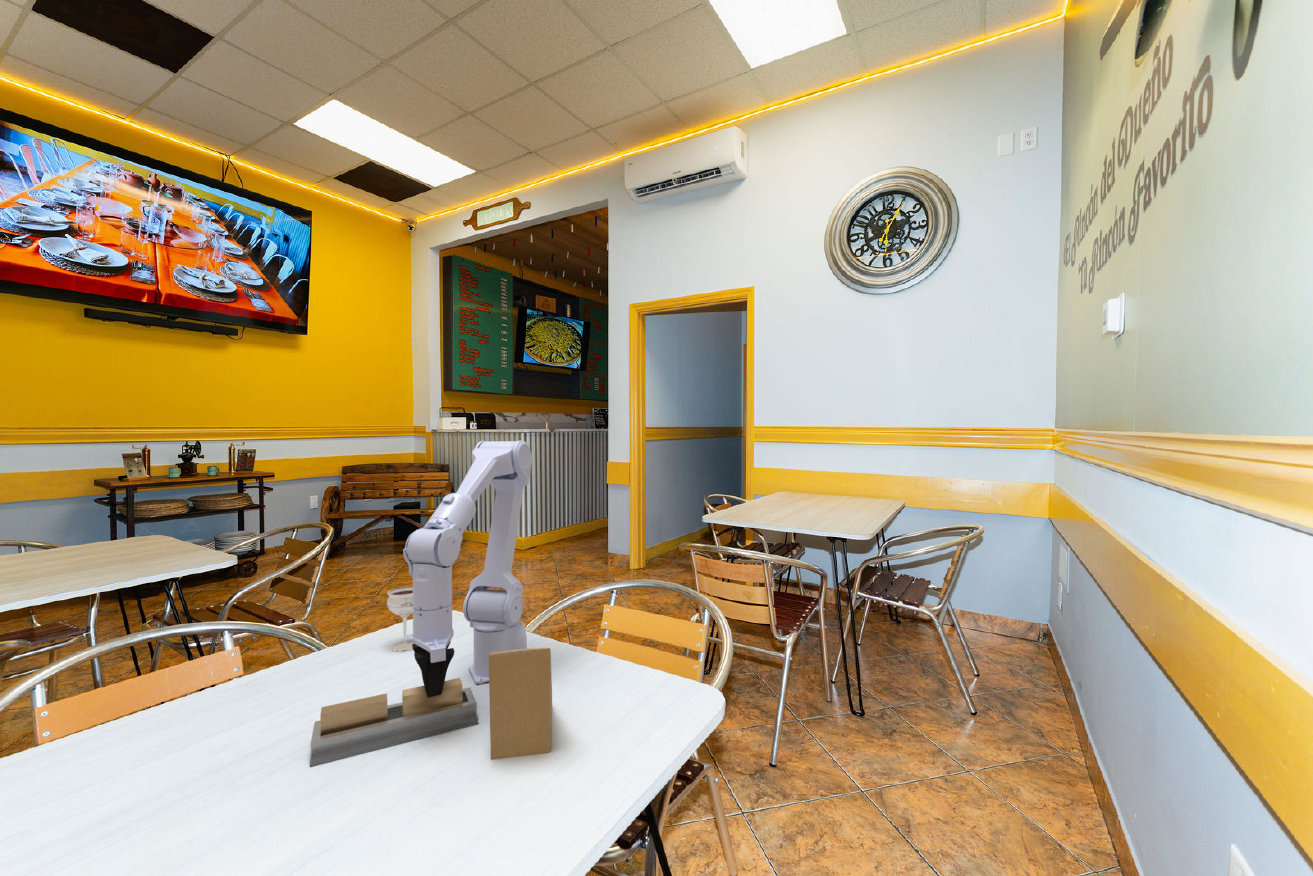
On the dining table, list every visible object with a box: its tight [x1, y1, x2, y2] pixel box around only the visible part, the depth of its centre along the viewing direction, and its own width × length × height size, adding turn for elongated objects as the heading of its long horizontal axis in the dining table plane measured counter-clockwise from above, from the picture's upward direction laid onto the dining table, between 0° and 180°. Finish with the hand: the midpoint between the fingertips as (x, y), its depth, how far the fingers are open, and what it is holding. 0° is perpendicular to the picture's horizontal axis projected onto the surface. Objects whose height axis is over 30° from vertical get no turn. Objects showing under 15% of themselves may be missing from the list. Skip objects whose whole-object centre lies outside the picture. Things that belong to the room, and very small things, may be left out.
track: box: [309, 687, 479, 767], centre depth 82 cm, size 22×9×5 cm, turn 119°
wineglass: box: [386, 585, 414, 652], centre depth 114 cm, size 7×7×12 cm
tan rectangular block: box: [401, 677, 463, 717], centre depth 84 cm, size 8×2×4 cm, turn 119°
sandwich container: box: [488, 647, 553, 761], centre depth 82 cm, size 9×15×15 cm, turn 11°
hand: (433, 691), depth 84 cm, fingers closed on tan rectangular block, 2 cm apart
